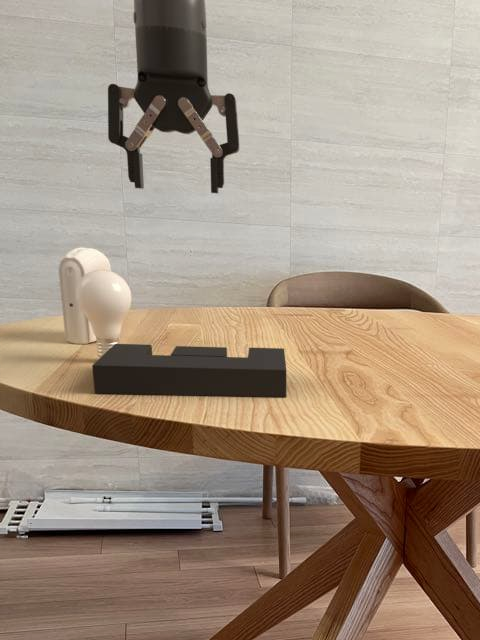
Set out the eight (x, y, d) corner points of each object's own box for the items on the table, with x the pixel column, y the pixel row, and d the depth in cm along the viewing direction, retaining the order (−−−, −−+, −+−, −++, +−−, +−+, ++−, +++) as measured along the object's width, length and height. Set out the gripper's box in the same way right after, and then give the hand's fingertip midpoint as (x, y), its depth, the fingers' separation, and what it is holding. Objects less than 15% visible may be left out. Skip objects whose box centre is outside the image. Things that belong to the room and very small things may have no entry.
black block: (171, 380, 95) (170, 354, 94) (177, 370, 100) (175, 345, 99) (225, 381, 96) (224, 355, 94) (227, 372, 101) (226, 347, 100)
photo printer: (91, 345, 114) (83, 250, 109) (61, 343, 114) (51, 248, 109) (120, 334, 123) (113, 247, 118) (91, 332, 123) (84, 245, 119)
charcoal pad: (94, 393, 87) (91, 365, 86) (116, 368, 99) (114, 343, 98) (286, 397, 90) (286, 369, 89) (284, 372, 103) (284, 348, 101)
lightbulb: (145, 360, 106) (140, 270, 101) (116, 367, 100) (109, 272, 96) (103, 355, 107) (95, 266, 103) (71, 362, 101) (62, 268, 97)
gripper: (239, 42, 94) (241, 195, 100) (109, 29, 92) (119, 187, 98) (235, 29, 87) (237, 194, 93) (95, 16, 85) (107, 186, 91)
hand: (177, 190), depth 96 cm, fingers open, 8 cm apart
